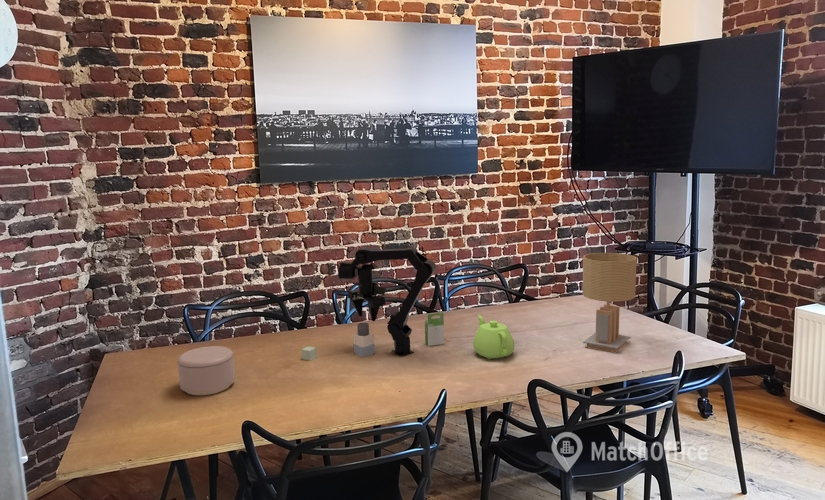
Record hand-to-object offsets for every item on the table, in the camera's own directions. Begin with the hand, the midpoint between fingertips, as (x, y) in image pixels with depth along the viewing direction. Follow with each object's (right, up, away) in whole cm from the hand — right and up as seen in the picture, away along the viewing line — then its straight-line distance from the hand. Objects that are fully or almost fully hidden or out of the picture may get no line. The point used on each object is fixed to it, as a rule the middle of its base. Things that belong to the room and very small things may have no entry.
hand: (367, 318), depth 233 cm
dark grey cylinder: (-1, -6, -3) cm, 6 cm away
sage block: (-22, -15, -5) cm, 27 cm away
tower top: (-1, -10, -2) cm, 10 cm away
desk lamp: (+95, -11, +1) cm, 95 cm away
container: (-52, -20, -30) cm, 63 cm away
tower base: (-1, -14, -1) cm, 14 cm away
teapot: (+48, -13, -5) cm, 50 cm away
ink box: (+27, -11, +8) cm, 30 cm away
